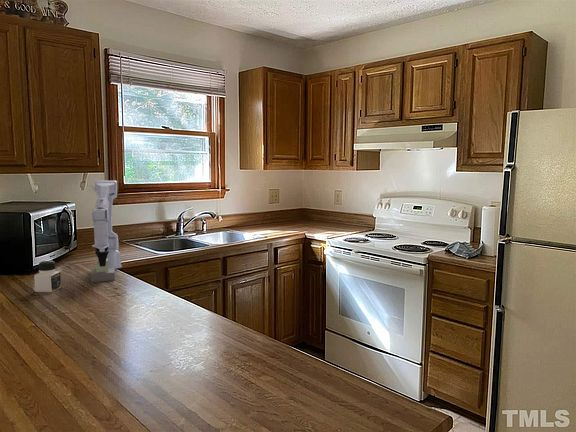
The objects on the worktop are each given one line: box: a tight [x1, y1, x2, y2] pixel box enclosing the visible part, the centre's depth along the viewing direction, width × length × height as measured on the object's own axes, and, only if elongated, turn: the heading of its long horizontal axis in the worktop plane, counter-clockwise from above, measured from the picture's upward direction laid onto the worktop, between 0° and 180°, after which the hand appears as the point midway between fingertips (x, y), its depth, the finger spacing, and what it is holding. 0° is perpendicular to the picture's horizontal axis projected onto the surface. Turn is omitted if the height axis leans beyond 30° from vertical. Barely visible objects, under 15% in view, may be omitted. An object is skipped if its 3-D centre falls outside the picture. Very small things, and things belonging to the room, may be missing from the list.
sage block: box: [95, 258, 108, 272], centre depth 201 cm, size 5×5×5 cm
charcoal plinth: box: [89, 267, 116, 283], centre depth 202 cm, size 10×10×4 cm
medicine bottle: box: [33, 260, 62, 293], centre depth 182 cm, size 7×7×12 cm
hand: (102, 264), depth 201 cm, fingers open, 7 cm apart
